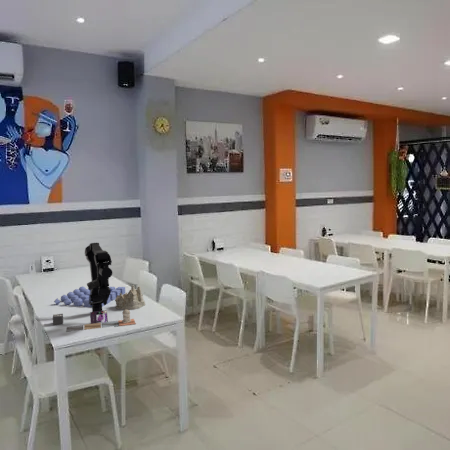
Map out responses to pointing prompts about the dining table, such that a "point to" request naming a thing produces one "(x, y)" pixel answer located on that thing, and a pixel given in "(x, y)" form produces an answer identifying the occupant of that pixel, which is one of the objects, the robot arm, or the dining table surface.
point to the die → (57, 319)
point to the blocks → (87, 296)
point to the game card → (94, 317)
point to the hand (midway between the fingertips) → (104, 302)
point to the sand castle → (130, 299)
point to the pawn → (126, 316)
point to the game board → (99, 325)
